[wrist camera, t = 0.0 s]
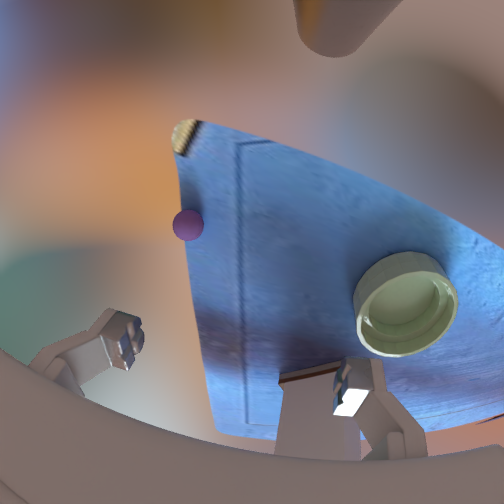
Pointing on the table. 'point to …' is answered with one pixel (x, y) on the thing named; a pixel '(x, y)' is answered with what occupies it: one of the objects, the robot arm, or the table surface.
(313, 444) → the brown-rimmed upright block
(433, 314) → the bowl
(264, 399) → the table surface
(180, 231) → the ball
